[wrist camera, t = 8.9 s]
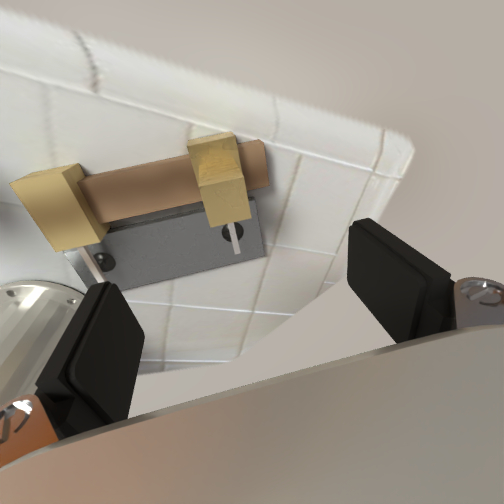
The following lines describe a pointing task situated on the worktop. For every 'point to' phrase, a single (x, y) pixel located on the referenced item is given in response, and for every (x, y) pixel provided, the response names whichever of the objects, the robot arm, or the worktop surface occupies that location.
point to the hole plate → (168, 248)
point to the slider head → (220, 181)
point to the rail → (117, 196)
